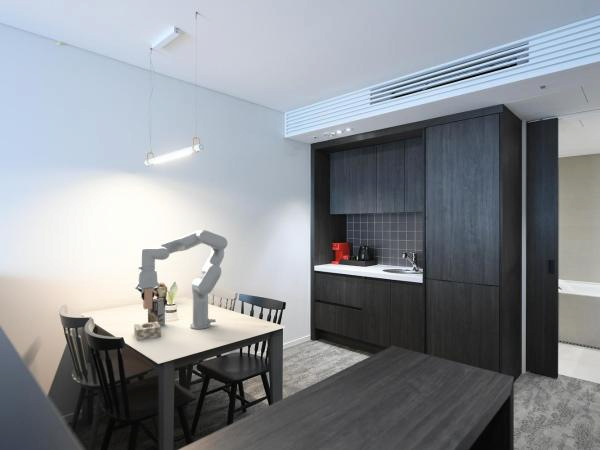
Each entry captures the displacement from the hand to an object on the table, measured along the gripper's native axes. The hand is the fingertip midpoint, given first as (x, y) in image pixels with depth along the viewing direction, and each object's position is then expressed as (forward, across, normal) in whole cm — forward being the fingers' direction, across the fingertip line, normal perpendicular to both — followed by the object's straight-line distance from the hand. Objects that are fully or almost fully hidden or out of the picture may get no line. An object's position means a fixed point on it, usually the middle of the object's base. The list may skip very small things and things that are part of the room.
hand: (147, 298), depth 216 cm
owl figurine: (+22, +20, +82) cm, 87 cm away
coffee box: (+22, +8, +20) cm, 31 cm away
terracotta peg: (+5, 0, 0) cm, 5 cm away
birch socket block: (+22, 0, 0) cm, 22 cm away
